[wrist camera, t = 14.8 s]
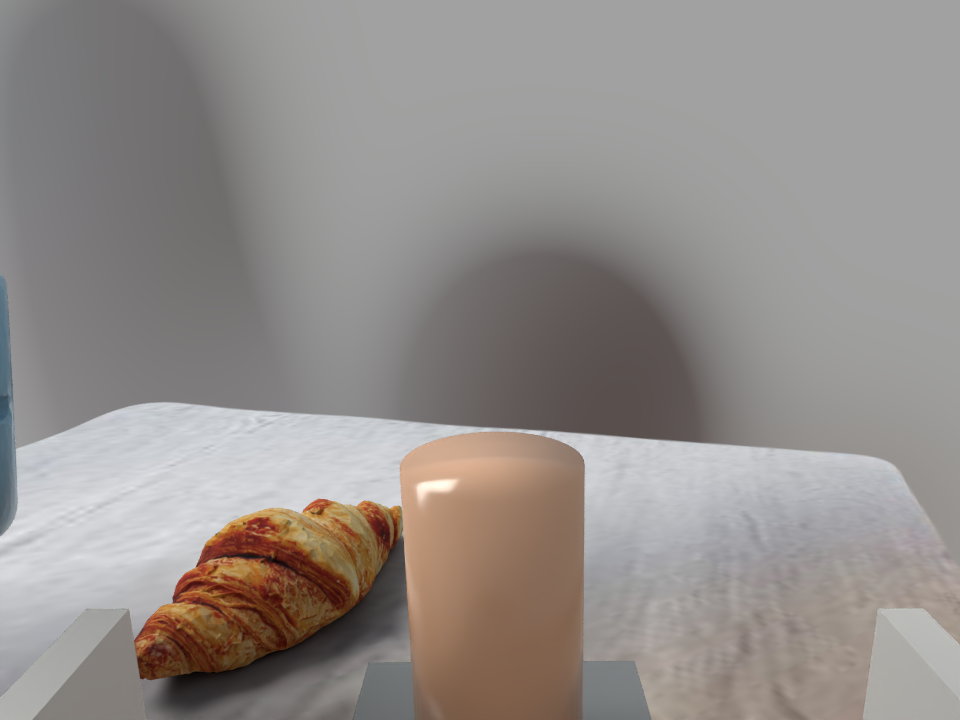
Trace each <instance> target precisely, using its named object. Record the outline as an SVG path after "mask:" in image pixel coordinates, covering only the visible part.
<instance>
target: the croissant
mask: <svg viewBox="0 0 960 720" xmlns="http://www.w3.org/2000/svg"><path fill="white" fill-rule="evenodd" d="M402 532H403V516H402V508H401V507H400V506H394V507H392V508H390V509H389V508H388V507H386V506H382V505H381V504H377V503H373V502H372V501H363V502H361V503H360V504H359V505H358V506H356V507H355V506H352V505H342V504H340V503H338V502H336V501H329V500H327V499H317V500H315V501H314V502H312V503H310V504H309V505H308V506H307V507H306V508H305V509H304V510H303V512H302V514H300V513H298V512H295V511H292V510H289V509H283V508H269V509H265V510H262V511H258V512H256V513H252V514H250V515H245V516H243V517H241V518H239V519H236V520H234V521H232V522H230V523H229V524H227V525H226V526H225V527H224V528H223V529H222V530H221V531H220V532H219V533H217V534H216V535H214V536H213V537H212V538H211V539H210V540H208V541H207V542H206V544H205V546H204V548H203V550H202V553H201V556H200V559H199V561H198V563H197V565H196V568H194V569H192V570H191V571H189V572H187V573H185V574H184V575H183V577H182V578H181V579H180V580H179V582H178V583H177V585H176V588H175V592H174V596H173V597H172V598H173V603H172V604H167V605H163V606H161V607H160V608H159V609H158V610H157V611H156V612H155V613H154V614H153V615H152V616H151V617H150V618H149V619H148V620H147V622H146V623H145V625H144V627H143V628H142V630H141V632H140V633H139V634H138V636H137V637H136V639H135V640H134V644H135V650H136V657H137V663H138V669H139V675H140V678H141V679H144V678H147V679H148V680H154V679H160V678H166V677H171V676H175V675H182V674H190V673H192V672H194V671H200V672H208V673H210V672H216V673H217V672H221V671H225V670H233V669H236V668H238V667H245V666H247V665H249V664H250V663H251V662H253V661H254V660H256V659H258V658H261V657H263V656H265V655H267V654H269V653H271V652H274V651H278V650H285V649H287V648H290V647H293V646H295V645H297V644H299V643H301V642H302V641H304V640H305V639H306V638H308V637H310V636H312V635H313V634H314V633H315V632H316V631H318V630H319V629H320V628H322V627H324V626H326V625H328V624H330V623H332V622H333V621H335V620H336V619H338V618H340V617H341V616H343V615H344V614H346V613H347V612H348V611H349V610H350V609H351V608H352V607H353V606H355V605H357V604H358V603H359V602H360V601H361V600H362V599H363V598H364V597H365V596H366V594H367V593H368V591H369V590H370V589H371V587H372V584H373V582H374V580H375V576H376V575H377V574H378V573H379V571H380V570H381V567H382V566H383V565H384V563H385V562H386V561H387V558H388V554H389V551H390V549H392V548H394V546H395V545H396V543H397V542H398V539H399V538H400V536H401V534H402Z"/></svg>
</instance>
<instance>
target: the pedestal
mask: <svg viewBox="0 0 960 720" xmlns="http://www.w3.org/2000/svg"><path fill="white" fill-rule="evenodd" d="M353 720H414V704H413V687H412V669H411V662H384V663H368V667H367V670H366V674H365V677H364V681H363V685H362V688H361V692H360V695H359V699H358V702H357V706H356V709H355V713H354V716H353ZM583 720H651V717H650V713H649V710H648V706H647V703H646V699H645V696H644V693H643V689H642V686H641V682H640V679H639V675H638V672H637V668H636V665H635V662H634V661H583Z"/></svg>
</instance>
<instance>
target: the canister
mask: <svg viewBox="0 0 960 720" xmlns="http://www.w3.org/2000/svg"><path fill="white" fill-rule="evenodd" d="M584 474H585V465H584V460H583V457H582V456H581V455H580V453H579V452H578V451H576V450H575V449H574V448H572V447H570V446H569V445H567V444H565V443H562V442H560V441H557V440H554V439H551V438H547V437H543V436H538V435H533V434H526V433H516V432H479V433H469V434H461V435H455V436H450V437H446V438H442V439H438V440H435V441H432V442H429V443H426V444H424V445H422V446H420V447H418V448H416V449H414V450H412V451H411V452H410V453H408V454H407V455H406V456H405V457H404V458H403V460H402V462H401V464H400V482H401V499H402V516H403V533H404V550H405V567H406V584H407V601H408V618H409V635H410V652H411V669H412V687H413V704H414V720H583V647H584Z"/></svg>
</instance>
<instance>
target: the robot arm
mask: <svg viewBox="0 0 960 720" xmlns="http://www.w3.org/2000/svg"><path fill="white" fill-rule="evenodd" d="M17 502H18V501H17V470H16V448H15V425H14V404H13V384H12V367H11V347H10V327H9V310H8V296H7V283H6V281H5V279H4V277H3V276H2V275H1V274H0V536H1V535H2V534H4V532H5V531H6V530H7V529H8V528H9V526H10V525H11V524H12V522H13V520H14V518H15V514H16V511H17ZM0 720H147V719H146V713H145V706H144V700H143V694H142V688H141V682H140V675H139V669H138V663H137V657H136V650H135V644H134V638H133V632H132V626H131V619H130V613H129V609H86V610H85V611H84V612H83V613H82V614H81V615H80V616H79V617H78V618H77V619H76V620H75V621H74V622H73V623H72V624H71V625H70V626H69V628H68V629H67V630H66V631H65V632H64V633H63V634H62V635H61V636H60V637H59V638H58V639H57V640H56V641H55V642H54V643H53V644H52V645H51V646H50V647H49V648H48V649H47V650H46V651H45V652H44V653H43V654H42V655H41V656H40V657H39V658H38V659H37V660H36V661H35V663H34V664H33V665H32V666H31V667H30V668H29V669H28V670H27V671H26V672H25V673H24V674H23V675H22V676H21V677H20V678H19V679H18V680H17V681H16V682H15V683H14V684H13V685H12V686H11V687H10V688H9V689H8V690H7V691H6V692H5V693H4V694H3V695H2V696H1V698H0ZM863 720H960V645H959V644H958V643H957V642H956V641H955V640H954V639H953V638H952V637H951V636H950V635H949V634H948V633H947V632H946V631H945V630H944V629H943V628H942V627H941V626H940V625H939V624H938V623H937V622H936V621H935V620H934V619H933V618H932V617H931V616H930V615H929V614H928V613H927V612H926V611H925V610H924V609H878V614H877V621H876V628H875V635H874V642H873V649H872V657H871V664H870V671H869V678H868V685H867V692H866V700H865V707H864V714H863Z"/></svg>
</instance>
